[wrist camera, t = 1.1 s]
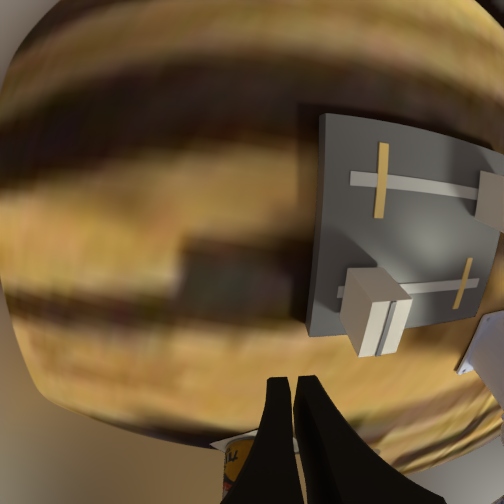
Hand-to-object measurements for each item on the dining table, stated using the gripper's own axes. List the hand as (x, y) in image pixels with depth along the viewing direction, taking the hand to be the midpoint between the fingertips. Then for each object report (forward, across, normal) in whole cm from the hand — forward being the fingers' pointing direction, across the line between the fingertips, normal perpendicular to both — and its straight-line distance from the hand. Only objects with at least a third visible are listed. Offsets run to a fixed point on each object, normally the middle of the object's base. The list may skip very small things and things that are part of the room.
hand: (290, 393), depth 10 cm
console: (+9, -10, -4) cm, 15 cm away
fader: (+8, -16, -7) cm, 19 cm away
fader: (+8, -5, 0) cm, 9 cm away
